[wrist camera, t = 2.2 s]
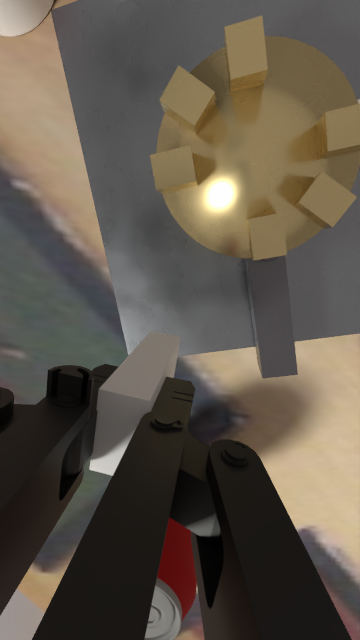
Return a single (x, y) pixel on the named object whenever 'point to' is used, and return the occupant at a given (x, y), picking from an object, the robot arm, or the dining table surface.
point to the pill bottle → (22, 15)
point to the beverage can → (173, 584)
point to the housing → (138, 180)
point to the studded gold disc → (259, 163)
